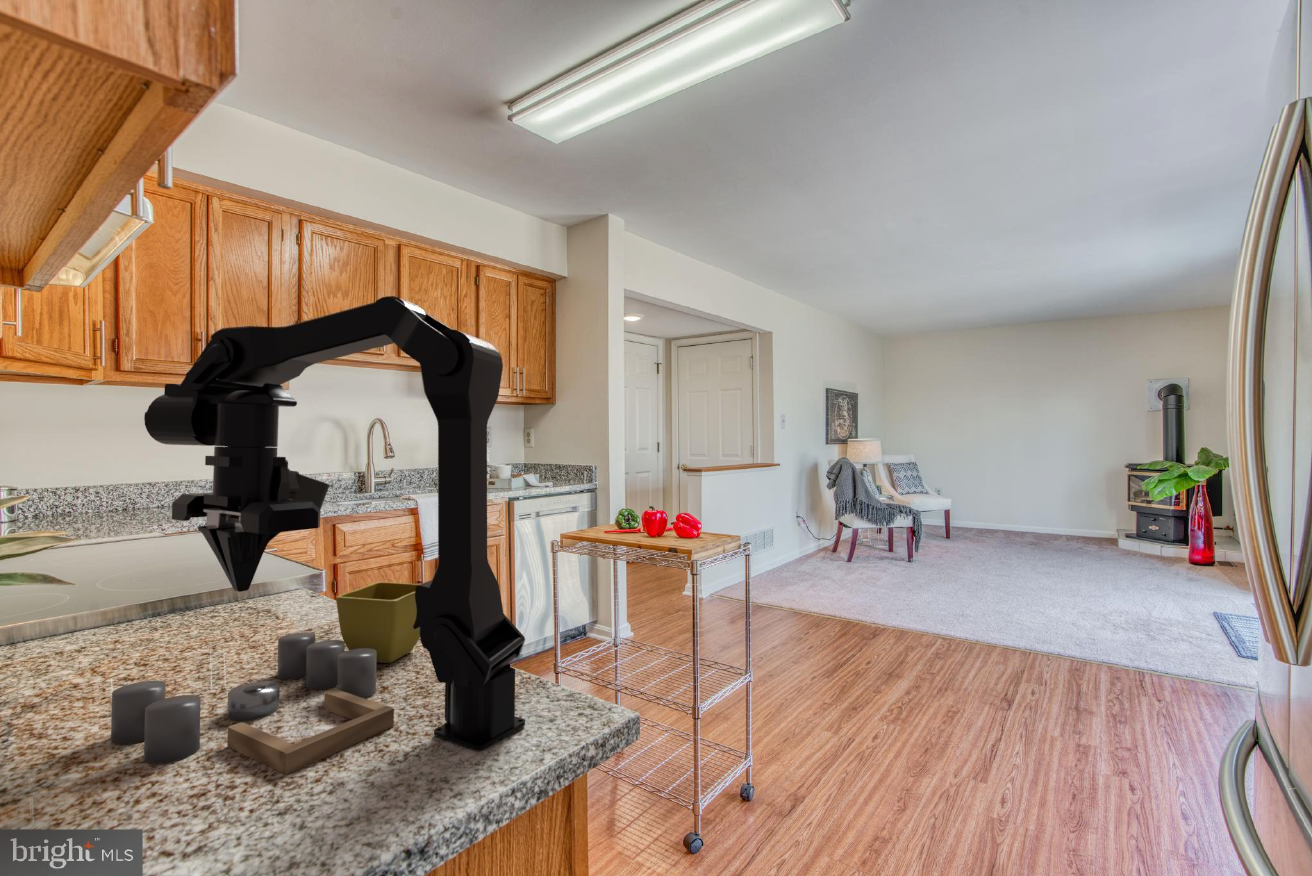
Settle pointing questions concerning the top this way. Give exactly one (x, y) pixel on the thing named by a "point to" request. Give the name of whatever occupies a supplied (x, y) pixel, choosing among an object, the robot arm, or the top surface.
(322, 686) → the spacers
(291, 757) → the corral
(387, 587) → the flower pot
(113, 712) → the spacers
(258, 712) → the grey metallic short cylinder
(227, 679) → the top surface
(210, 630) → the top surface
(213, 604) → the top surface
